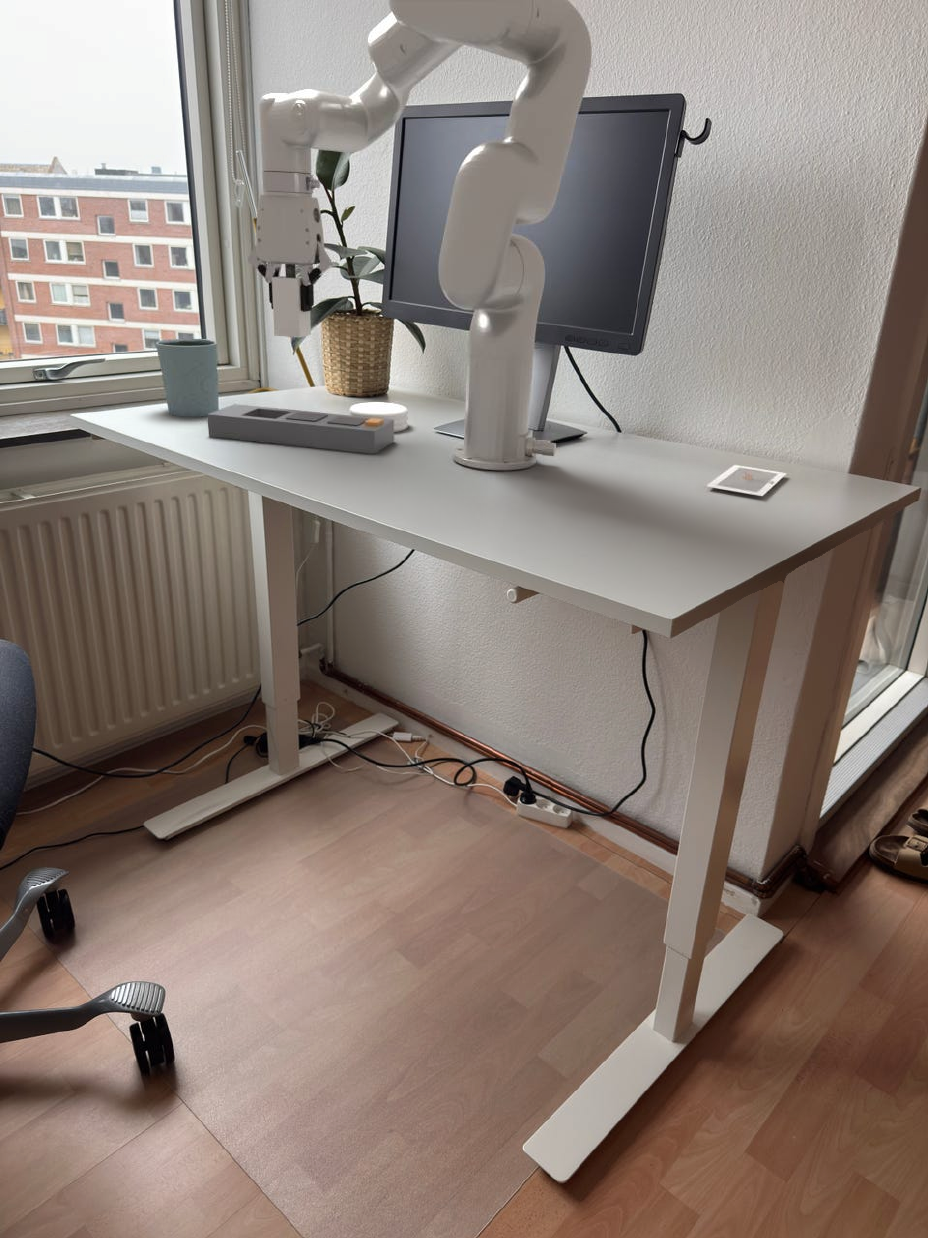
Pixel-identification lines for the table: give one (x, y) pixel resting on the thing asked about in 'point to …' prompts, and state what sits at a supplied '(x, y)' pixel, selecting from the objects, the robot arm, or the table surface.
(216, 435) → the power strip
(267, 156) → the robot arm
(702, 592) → the table surface
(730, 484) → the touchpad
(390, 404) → the coaster
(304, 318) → the charger
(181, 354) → the blue-grey tapered cup
